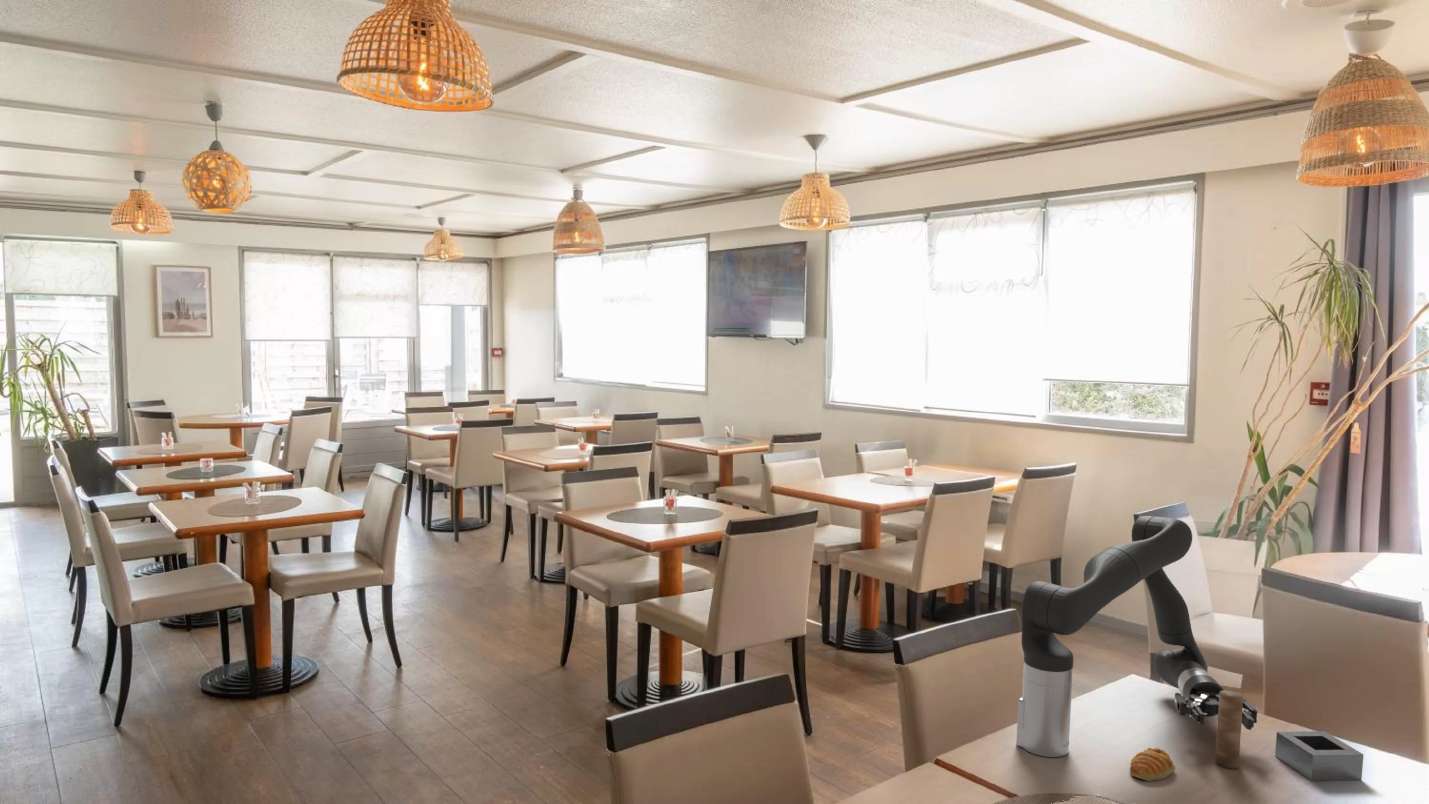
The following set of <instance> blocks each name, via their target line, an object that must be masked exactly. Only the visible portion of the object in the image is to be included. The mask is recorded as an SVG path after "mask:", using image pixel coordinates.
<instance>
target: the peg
mask: <svg viewBox="0 0 1429 804" xmlns="http://www.w3.org/2000/svg"><path fill="white" fill-rule="evenodd" d="M1243 699H1244V695H1242V694H1241V693H1240V692H1237V691H1233V690H1224V691H1220V693H1219V708H1218V715H1217V724H1216V740H1215V742H1216V743H1215V757H1214V764H1215V765H1217V767H1220V768H1223V769H1227V770H1238V769H1239V767H1240V766H1239V764H1240V749H1241V735H1242V708H1243Z"/></svg>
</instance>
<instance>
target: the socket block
mask: <svg viewBox="0 0 1429 804" xmlns="http://www.w3.org/2000/svg"><path fill="white" fill-rule="evenodd" d="M1275 737H1276V740H1275V741H1276V742H1275V752H1274V753H1275V754H1274V757H1276V758H1277V759H1279V760H1280V761H1281V762H1283V763H1284V764H1286V765H1287V766H1289V767H1290V768H1292V769H1293V770H1294V771H1296V772H1297V773H1299V774H1301V775H1302V776H1304V777H1305V778H1306V777H1307V778H1306V779H1308V780H1309V781H1311V782H1315V781H1317V782H1318V781H1322V782H1323V781H1324V782H1326V781H1329V782H1330V781H1331V782H1333V781H1362V778H1363V777H1362V776H1363V767H1364V766H1363V765H1364V753H1362V752H1361V751H1358V750H1357V749H1355V748H1353V747H1352V746H1350V745H1349V744H1347V743H1345V742H1343V741H1342V740H1341V739H1338V738H1336V737H1335V736H1334V735H1332V734H1330V733H1329V732H1327V731H1324V730H1323V731H1322V730H1321V731H1319V730H1318V731H1317V730H1316V731H1311V730H1310V731H1277V732H1276V736H1275Z"/></svg>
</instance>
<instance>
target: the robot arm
mask: <svg viewBox="0 0 1429 804" xmlns="http://www.w3.org/2000/svg"><path fill="white" fill-rule="evenodd" d="M1192 543H1193V533H1192V530H1191V528H1190V526H1189V524H1187V523H1186V522H1185V521H1183V520H1180V519H1177V518H1173V517H1163V516H1157V515H1156V516H1153V515H1142V516H1139V517H1138V518H1137V519H1136V520H1135V521H1134V523H1133V525H1132V529H1131V541H1129V542H1125V543H1124V542H1122V543H1119V544H1115V545H1112V546H1110V547H1107V548H1105V549H1102V551H1099V553H1096V554H1095V555H1093V556H1092V557H1091V558H1090V559H1089V560H1088V561H1087V562H1086V564H1085V566H1084V570H1083V583H1082V584H1081V585H1080V586H1077V587H1067V586H1066V587H1065V586H1062V585H1059V584H1054V583H1051V582H1046V581H1042V580H1036V581H1033V582H1031V583H1030V584H1029V585H1028V586H1027V587H1026V589H1025V592H1024V594H1023V598H1022V602H1021V615H1020V616H1021V619H1020V620H1021V648H1022V652H1023V671H1022V696H1021V697H1020V698H1019V699H1018V701H1017V703H1018V704H1017V705H1018V707H1017V719H1016V720H1017V723H1016V724H1017V725H1016V741H1015V742H1016V744H1015V745H1016V746H1018V747H1019V748H1020V747H1021V748H1022V749H1023V750H1025V751H1027V752H1029V753H1031V754H1033V755H1036V756H1040V757H1047V758H1059V757H1063V756H1066V755H1067V754H1068V753H1069V746H1070V731H1071V729H1070V728H1071V711H1072V695H1073V694H1072V691H1073V674H1074V673H1073V672H1074V654H1073V652H1072V651H1071V650H1070V649H1069V647H1067V646H1066V645H1065V644H1064V643H1062V642H1061V641H1060V640H1059V639H1058V638H1057V637H1056V635H1060V636H1070V635H1074V634H1075V633H1076V632H1078V631H1080V630H1081V629H1082V628H1083V627H1084V626H1085V625H1086V624H1087V623H1088V622H1090V621H1091V619H1092V618H1094V617H1095V616H1096V615H1097V613H1099V612H1100V611H1101V610H1102V609H1104V608H1105V607H1106V606H1107V605H1108V604H1110V603H1111V602H1112V601H1114V600H1115V599H1116V598H1118V597H1120V596H1122V595H1123V594H1125V593H1127V592H1128V591H1129V590H1131V589H1133V587H1135V586H1136V585H1137V584H1139V582H1141V581H1143V580H1144V581H1145V585H1146V587H1147V590H1148V592H1149V596H1150V599H1151V603H1152V607H1153V611H1154V616H1155V617H1154V618H1155V623H1156V628H1157V629H1156V630H1157V634H1158V638H1159V639H1160V641H1161V642H1163V643H1164V644H1166V645H1171V646H1178V648H1172V649H1164V650H1161V651H1159V652H1158V653H1157V654H1156V655H1155V657H1154V662H1153V663H1154V664H1153V665H1154V669H1155V671H1156V673H1157V674H1158V676H1159V677H1160V679H1162V681H1164V682H1165V683H1167V684H1168V685H1170V686H1171V687H1172V686H1173V687H1175V688H1176V689H1178V690H1179V692H1175V693H1174V701H1173V702H1174V704H1173V705H1174V707H1175V709H1176V711H1177V712H1178V715H1180V716H1186V715H1189V717H1190V718H1192V719H1193V721H1194V722H1197V723H1198V724H1199V725H1202V726H1203V725H1204V724H1205V717H1214V716H1218V708H1219V693H1220V691H1224V688H1223V686H1221V684H1219V683H1218V681H1217V680H1216V679H1215V678H1214V677H1213V675H1211V674H1210V673H1208V671H1207V670H1208V669H1207V668H1208V667H1207V662H1206V660H1205V657H1204V656H1203V653H1202V651H1201V650H1200V648H1199V646H1198V644H1197V642H1196V640H1195V637H1194V633H1193V631H1192V630H1193V629H1192V625H1191V624H1192V623H1191V619H1190V613H1189V608H1188V605H1187V603H1186V601H1185V599H1184V597H1183V596H1182V594H1181V592H1180V591H1179V590H1178V588H1177V587H1176V586H1175V585H1174V584H1173V582H1172V581H1171V579H1170V578H1169V577H1168V575H1167V574H1166V572H1165V570H1164V569H1163V568H1164V567H1167V566H1169V565H1171V564H1173V563H1175V562H1178V561H1179V560H1181V559H1183V558H1184V557H1185V556H1186V554H1187V553H1188V552H1189V550H1190V548H1191V546H1192ZM1055 634H1056V635H1055ZM1179 646H1180V648H1179ZM1257 723H1258V709H1257V708H1256V707H1255V706H1253V705H1252V703H1251V702H1249V701H1248V700H1247V699H1244V698H1243V708H1242V723H1241V725H1243V726H1244V728H1245V729H1246V730H1248V731H1249V730H1252V728H1254V725H1255V724H1257Z"/></svg>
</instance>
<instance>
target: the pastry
mask: <svg viewBox="0 0 1429 804" xmlns="http://www.w3.org/2000/svg"><path fill="white" fill-rule="evenodd" d="M1175 765H1176V764H1174V763H1173V760H1172V759H1171V757H1170V755H1169V754H1168V753H1167V752H1166V751H1164V750H1163V749H1160V748H1156V747H1154V748H1151V747H1148V748H1147V749H1144V750H1143V751H1140V752H1137V754H1136V755H1135V756H1133V757H1132V758H1131V762H1130V767H1129V773H1130V775H1131V776H1132V777H1135V778H1138V779H1140V780H1144V781H1146V782H1151V781H1158V780H1163V779H1165V778H1167V777H1169V776H1170V775H1172V773H1174V771H1175V770H1176V766H1175Z"/></svg>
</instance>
